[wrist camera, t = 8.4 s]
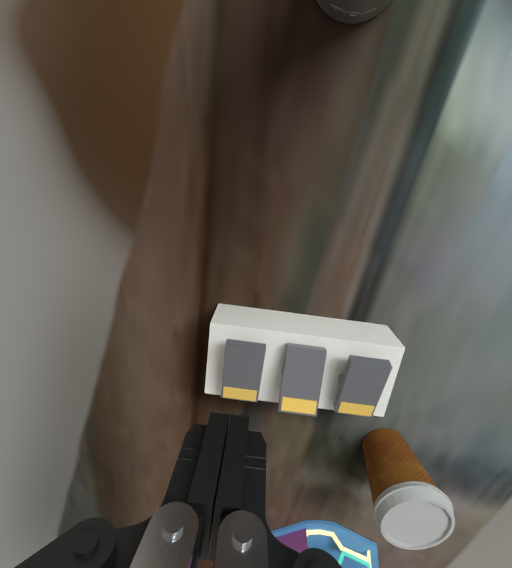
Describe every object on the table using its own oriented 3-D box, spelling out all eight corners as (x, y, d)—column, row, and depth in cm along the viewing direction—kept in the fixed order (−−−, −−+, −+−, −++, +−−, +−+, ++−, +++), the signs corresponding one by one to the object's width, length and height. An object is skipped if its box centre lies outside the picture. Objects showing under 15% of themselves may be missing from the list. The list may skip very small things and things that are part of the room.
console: (218, 303, 42) (208, 325, 35) (386, 325, 42) (408, 351, 35) (212, 368, 45) (202, 399, 38) (368, 388, 45) (385, 423, 38)
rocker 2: (287, 342, 36) (287, 346, 35) (324, 347, 36) (327, 351, 35) (277, 406, 37) (278, 412, 36) (314, 411, 37) (316, 417, 36)
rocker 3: (349, 354, 35) (352, 362, 34) (389, 360, 35) (393, 368, 33) (333, 404, 38) (335, 413, 37) (369, 409, 38) (372, 418, 37)
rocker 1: (226, 338, 35) (224, 346, 34) (266, 343, 35) (265, 351, 34) (222, 390, 38) (220, 398, 37) (257, 394, 38) (257, 403, 37)
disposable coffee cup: (424, 452, 48) (472, 535, 37) (369, 475, 50) (398, 561, 39) (397, 409, 46) (439, 484, 34) (340, 435, 48) (362, 515, 36)
